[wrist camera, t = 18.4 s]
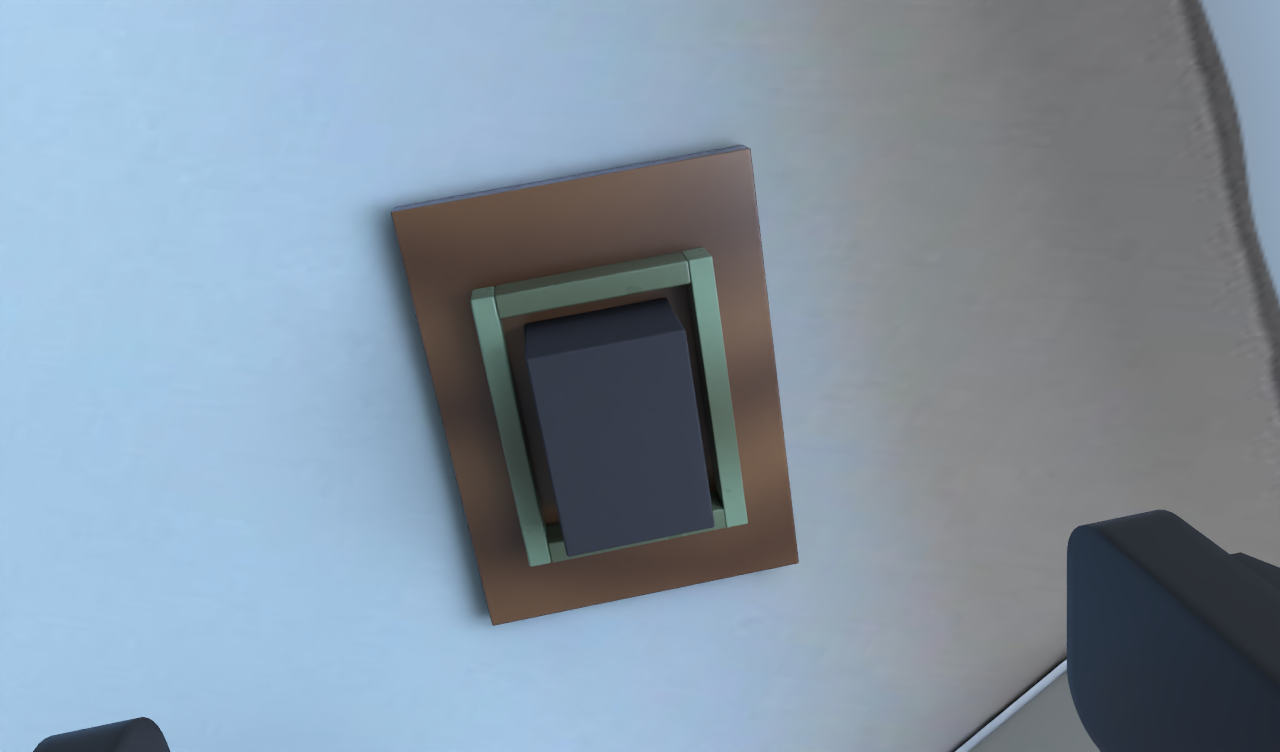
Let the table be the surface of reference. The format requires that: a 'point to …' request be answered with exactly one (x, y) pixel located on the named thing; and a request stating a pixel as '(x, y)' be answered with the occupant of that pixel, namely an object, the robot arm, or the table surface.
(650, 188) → the back board
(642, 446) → the black box
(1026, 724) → the laptop
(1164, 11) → the table surface
